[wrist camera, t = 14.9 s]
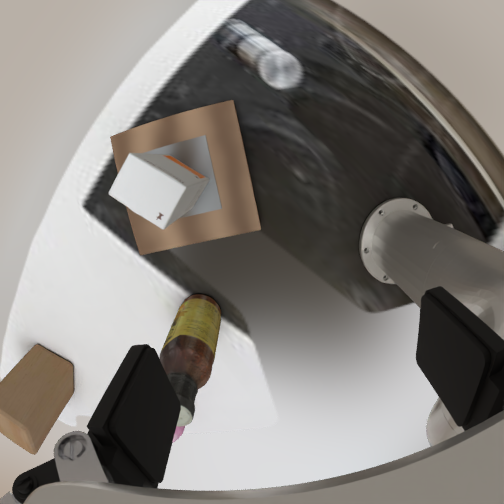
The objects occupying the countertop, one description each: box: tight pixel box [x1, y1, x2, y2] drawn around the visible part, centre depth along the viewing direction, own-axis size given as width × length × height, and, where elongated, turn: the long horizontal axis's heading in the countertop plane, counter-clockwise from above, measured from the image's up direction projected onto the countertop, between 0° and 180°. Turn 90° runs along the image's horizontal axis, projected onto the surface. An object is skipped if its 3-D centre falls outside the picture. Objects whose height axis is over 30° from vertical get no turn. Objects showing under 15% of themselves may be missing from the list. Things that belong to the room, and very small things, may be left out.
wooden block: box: [0, 345, 74, 455], centre depth 38 cm, size 10×10×20 cm
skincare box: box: [109, 153, 209, 230], centre depth 28 cm, size 6×4×12 cm
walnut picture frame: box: [110, 100, 261, 255], centre depth 36 cm, size 16×16×3 cm
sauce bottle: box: [160, 294, 221, 427], centre depth 33 cm, size 6×6×20 cm
